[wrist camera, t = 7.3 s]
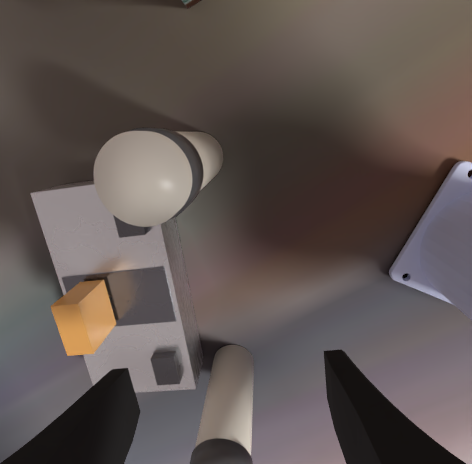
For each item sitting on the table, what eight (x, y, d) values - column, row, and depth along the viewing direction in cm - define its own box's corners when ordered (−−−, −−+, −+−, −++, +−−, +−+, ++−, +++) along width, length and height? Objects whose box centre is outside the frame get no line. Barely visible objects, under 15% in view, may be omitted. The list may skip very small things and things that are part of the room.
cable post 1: (232, 142, 19) (204, 152, 10) (214, 191, 20) (171, 244, 11) (183, 121, 19) (104, 110, 9) (166, 171, 20) (80, 207, 10)
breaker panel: (166, 170, 20) (146, 178, 17) (203, 358, 24) (194, 395, 20) (62, 184, 21) (22, 195, 17) (115, 364, 25) (91, 401, 21)
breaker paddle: (103, 279, 19) (77, 303, 16) (116, 323, 20) (93, 353, 17) (80, 281, 19) (50, 306, 16) (93, 325, 20) (67, 355, 17)
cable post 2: (262, 353, 23) (262, 504, 14) (245, 385, 24) (234, 547, 15) (221, 337, 23) (194, 479, 14) (206, 370, 24) (170, 523, 15)
